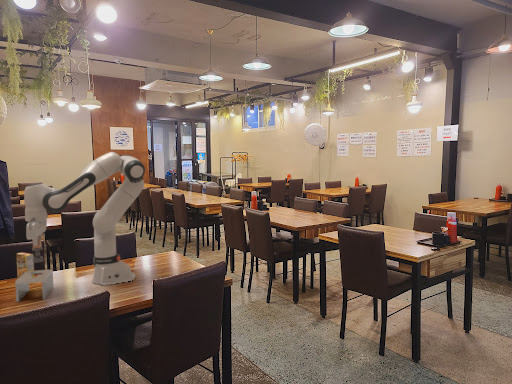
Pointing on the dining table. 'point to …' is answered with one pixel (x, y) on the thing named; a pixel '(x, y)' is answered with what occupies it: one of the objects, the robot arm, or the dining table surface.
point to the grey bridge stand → (25, 279)
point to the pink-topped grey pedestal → (37, 252)
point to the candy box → (24, 263)
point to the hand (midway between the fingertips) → (37, 244)
